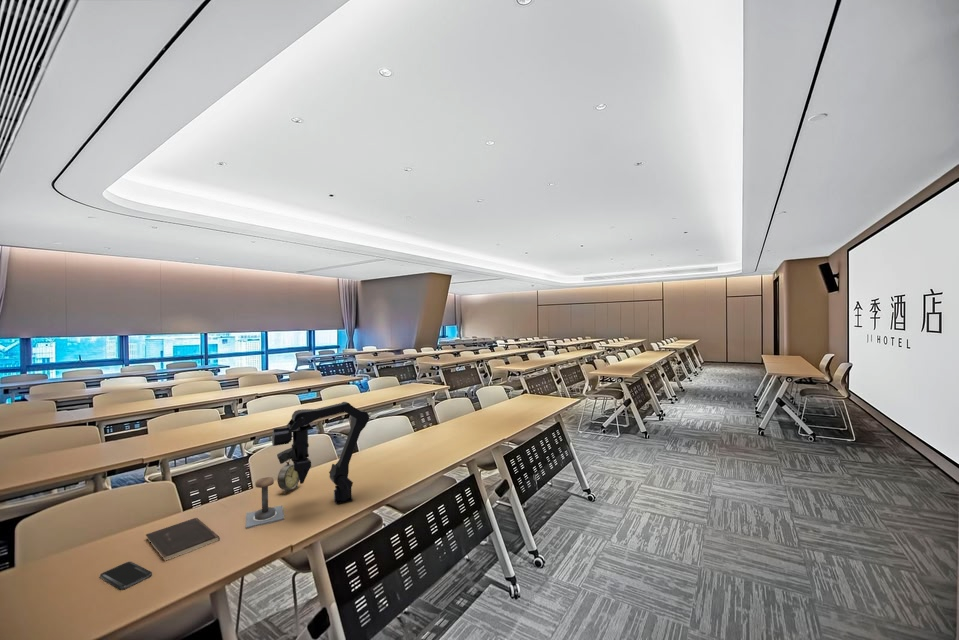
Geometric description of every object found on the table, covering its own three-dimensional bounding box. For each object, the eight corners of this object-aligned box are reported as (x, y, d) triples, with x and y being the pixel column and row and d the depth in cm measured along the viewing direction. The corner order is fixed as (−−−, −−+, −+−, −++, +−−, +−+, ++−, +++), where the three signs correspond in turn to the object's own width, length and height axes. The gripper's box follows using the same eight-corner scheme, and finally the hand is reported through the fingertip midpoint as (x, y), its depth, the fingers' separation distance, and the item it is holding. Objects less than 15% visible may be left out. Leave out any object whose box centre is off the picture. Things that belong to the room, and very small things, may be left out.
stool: (278, 510, 162) (277, 476, 162) (270, 519, 155) (270, 483, 155) (259, 511, 161) (259, 477, 162) (251, 520, 154) (250, 484, 154)
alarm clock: (285, 496, 177) (285, 460, 177) (275, 495, 178) (274, 459, 179) (301, 486, 188) (300, 452, 188) (291, 485, 189) (290, 451, 189)
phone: (121, 588, 115) (98, 574, 122) (121, 592, 115) (98, 578, 122) (154, 572, 122) (130, 560, 129) (154, 576, 122) (130, 563, 129)
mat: (282, 506, 167) (282, 505, 167) (284, 519, 156) (284, 517, 156) (246, 514, 161) (246, 512, 161) (245, 528, 149) (245, 526, 149)
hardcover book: (164, 563, 129) (164, 556, 129) (145, 540, 144) (145, 534, 144) (219, 541, 142) (219, 535, 142) (197, 522, 156) (197, 516, 156)
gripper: (277, 438, 167) (277, 476, 166) (279, 450, 150) (279, 492, 150) (306, 435, 172) (306, 471, 172) (311, 446, 156) (311, 486, 156)
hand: (300, 479), depth 162 cm, fingers open, 9 cm apart
